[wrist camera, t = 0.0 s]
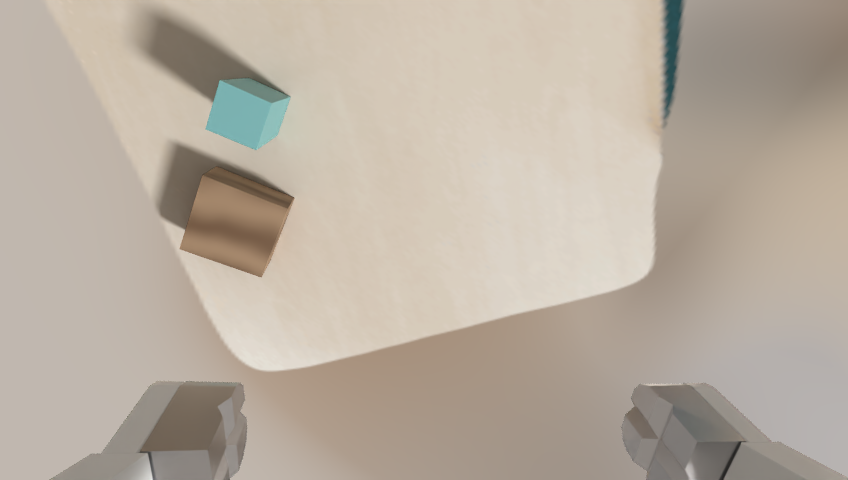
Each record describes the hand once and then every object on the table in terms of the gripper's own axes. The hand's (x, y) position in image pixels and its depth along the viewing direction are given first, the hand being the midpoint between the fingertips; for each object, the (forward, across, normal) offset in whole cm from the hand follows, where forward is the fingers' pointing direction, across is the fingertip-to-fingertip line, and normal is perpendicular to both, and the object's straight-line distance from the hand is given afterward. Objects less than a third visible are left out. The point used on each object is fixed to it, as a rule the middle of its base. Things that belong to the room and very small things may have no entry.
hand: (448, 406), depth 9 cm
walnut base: (+48, +18, +13) cm, 53 cm away
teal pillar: (+48, +15, -1) cm, 50 cm away
